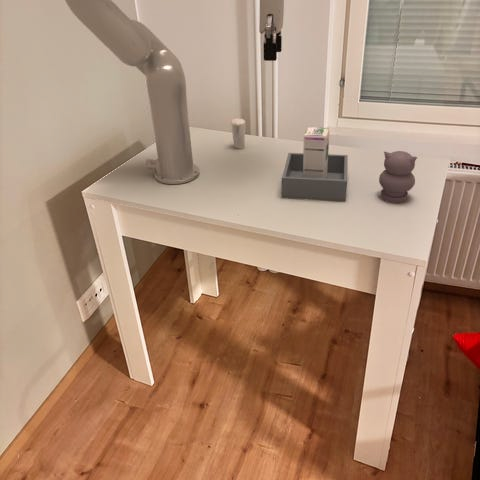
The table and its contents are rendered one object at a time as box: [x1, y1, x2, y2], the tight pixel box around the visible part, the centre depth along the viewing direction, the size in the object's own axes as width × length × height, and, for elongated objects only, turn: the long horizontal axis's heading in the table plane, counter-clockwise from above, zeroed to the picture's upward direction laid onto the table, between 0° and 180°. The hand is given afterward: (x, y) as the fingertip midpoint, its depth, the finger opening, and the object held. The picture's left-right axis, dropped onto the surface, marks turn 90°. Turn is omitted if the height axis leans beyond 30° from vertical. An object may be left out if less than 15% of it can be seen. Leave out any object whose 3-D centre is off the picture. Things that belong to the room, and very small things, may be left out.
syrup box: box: [302, 126, 330, 179], centre depth 121 cm, size 6×6×14 cm
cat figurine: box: [378, 150, 418, 204], centre depth 115 cm, size 8×8×12 cm
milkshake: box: [230, 117, 247, 150], centre depth 146 cm, size 4×5×10 cm
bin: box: [281, 152, 349, 202], centre depth 123 cm, size 16×16×6 cm
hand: (272, 56), depth 120 cm, fingers open, 9 cm apart
